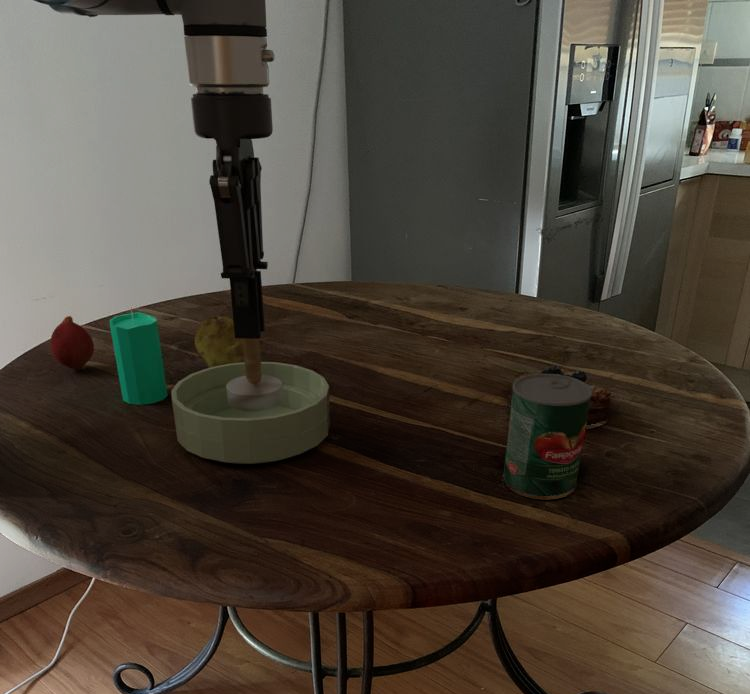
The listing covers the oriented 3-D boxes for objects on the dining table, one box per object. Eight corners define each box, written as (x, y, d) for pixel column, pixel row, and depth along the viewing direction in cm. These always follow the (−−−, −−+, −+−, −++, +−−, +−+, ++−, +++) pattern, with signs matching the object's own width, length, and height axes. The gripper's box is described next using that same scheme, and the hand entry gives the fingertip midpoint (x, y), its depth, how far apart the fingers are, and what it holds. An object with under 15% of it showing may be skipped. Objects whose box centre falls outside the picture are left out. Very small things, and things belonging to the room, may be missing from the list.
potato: (210, 396, 100) (204, 339, 96) (194, 365, 110) (188, 312, 106) (270, 388, 102) (266, 332, 98) (249, 359, 113) (244, 307, 109)
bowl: (158, 466, 82) (150, 417, 79) (199, 403, 98) (194, 359, 95) (320, 471, 81) (319, 422, 78) (335, 406, 97) (335, 363, 94)
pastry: (543, 437, 89) (549, 392, 86) (496, 401, 99) (501, 359, 96) (619, 426, 93) (627, 382, 90) (567, 391, 102) (573, 351, 99)
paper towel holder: (222, 410, 83) (207, 266, 75) (234, 389, 88) (221, 253, 80) (278, 412, 83) (269, 267, 74) (287, 390, 88) (279, 254, 80)
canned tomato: (558, 508, 75) (574, 409, 69) (489, 486, 79) (499, 390, 73) (587, 478, 81) (603, 384, 75) (521, 459, 84) (532, 368, 79)
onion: (65, 380, 104) (53, 325, 100) (49, 369, 108) (37, 315, 104) (104, 370, 108) (94, 316, 104) (87, 360, 111) (77, 308, 107)
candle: (128, 387, 102) (113, 301, 96) (172, 387, 102) (160, 301, 96) (117, 404, 97) (100, 314, 91) (163, 404, 97) (149, 314, 91)
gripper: (255, 93, 63) (272, 357, 75) (282, 89, 76) (293, 315, 88) (168, 92, 63) (199, 355, 75) (210, 88, 76) (231, 314, 88)
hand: (250, 333), depth 81 cm, fingers closed on paper towel holder, 2 cm apart
